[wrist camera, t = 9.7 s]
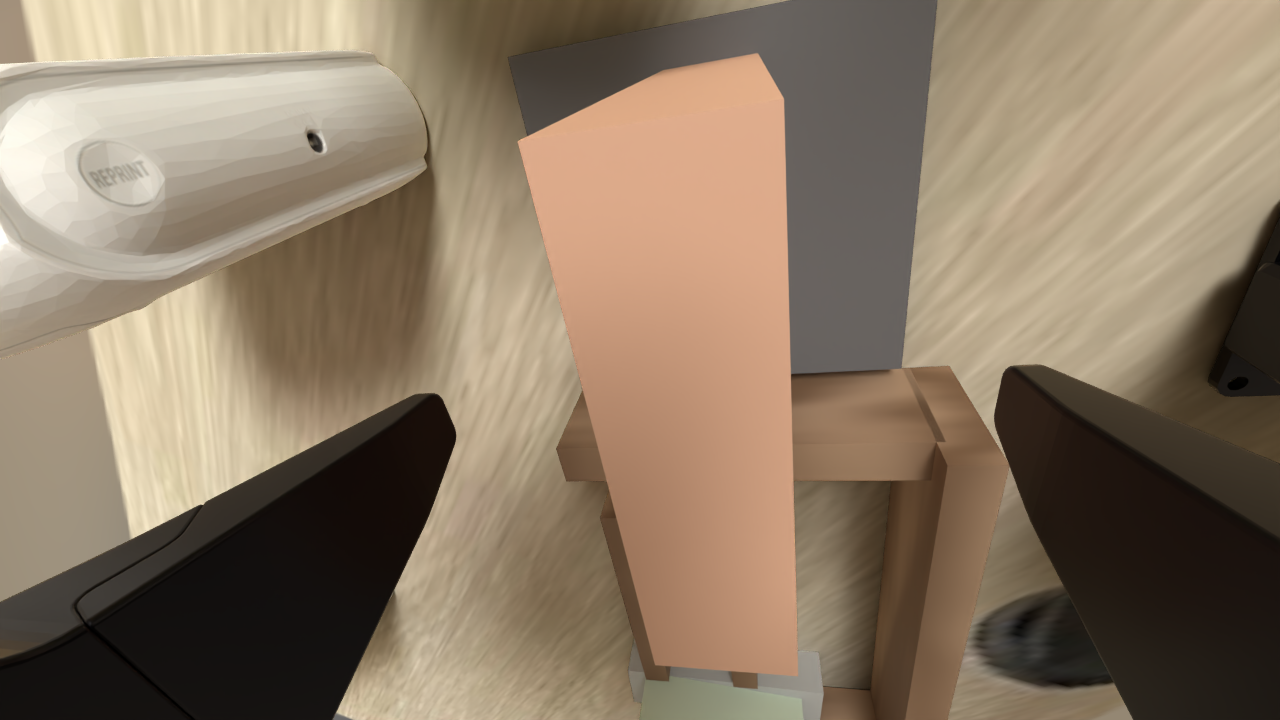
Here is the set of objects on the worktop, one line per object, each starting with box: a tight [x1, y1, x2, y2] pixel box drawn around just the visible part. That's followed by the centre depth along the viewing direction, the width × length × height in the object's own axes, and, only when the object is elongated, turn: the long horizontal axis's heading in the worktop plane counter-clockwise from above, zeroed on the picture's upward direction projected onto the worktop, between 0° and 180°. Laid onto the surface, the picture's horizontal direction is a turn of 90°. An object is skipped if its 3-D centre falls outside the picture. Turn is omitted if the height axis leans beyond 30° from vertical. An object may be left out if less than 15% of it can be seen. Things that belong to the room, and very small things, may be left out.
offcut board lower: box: [628, 639, 824, 720], centre depth 29 cm, size 10×3×2 cm, turn 96°
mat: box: [508, 0, 937, 374], centre depth 17 cm, size 11×11×1 cm
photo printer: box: [0, 50, 427, 359], centre depth 13 cm, size 10×4×12 cm, turn 108°
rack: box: [556, 366, 1009, 720], centre depth 23 cm, size 13×22×5 cm, turn 9°
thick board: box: [518, 53, 798, 676], centre depth 12 cm, size 2×9×11 cm, turn 9°
